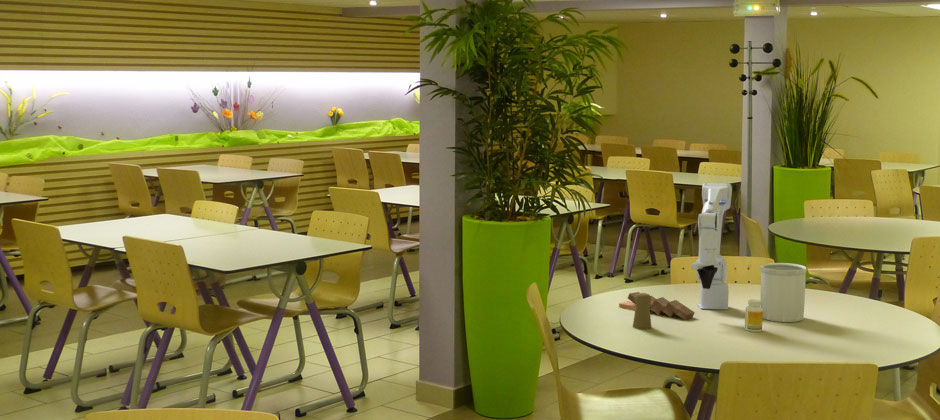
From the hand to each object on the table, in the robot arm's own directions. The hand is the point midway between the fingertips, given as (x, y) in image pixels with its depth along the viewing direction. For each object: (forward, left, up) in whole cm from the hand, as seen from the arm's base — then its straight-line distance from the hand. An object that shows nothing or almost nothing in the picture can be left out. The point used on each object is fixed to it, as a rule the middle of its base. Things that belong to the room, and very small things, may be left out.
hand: (706, 288), depth 331 cm
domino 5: (+6, +3, -9) cm, 11 cm away
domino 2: (+18, -7, -9) cm, 21 cm away
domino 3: (+13, -3, -9) cm, 16 cm away
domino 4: (+10, 0, -9) cm, 13 cm away
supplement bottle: (-12, +17, -10) cm, 23 cm away
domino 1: (+20, -9, -10) cm, 24 cm away
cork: (+23, +16, -10) cm, 29 cm away
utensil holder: (-25, -1, -10) cm, 27 cm away
